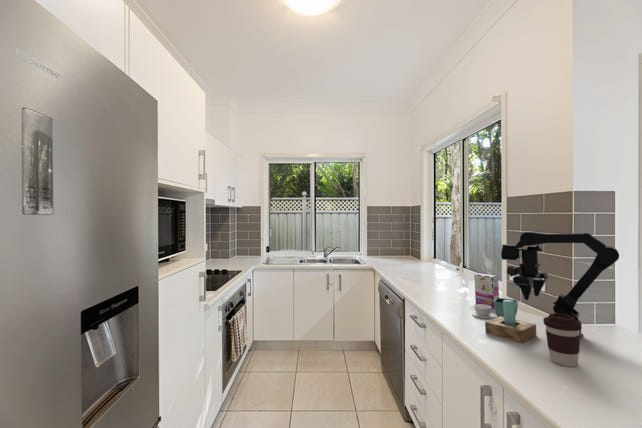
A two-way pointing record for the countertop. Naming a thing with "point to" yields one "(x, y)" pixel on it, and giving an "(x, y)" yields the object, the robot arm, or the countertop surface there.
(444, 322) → the countertop surface
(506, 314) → the dowel
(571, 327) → the coffee cup
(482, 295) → the candy bar box
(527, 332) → the brown wooden box
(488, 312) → the teacup
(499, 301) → the flower pot
